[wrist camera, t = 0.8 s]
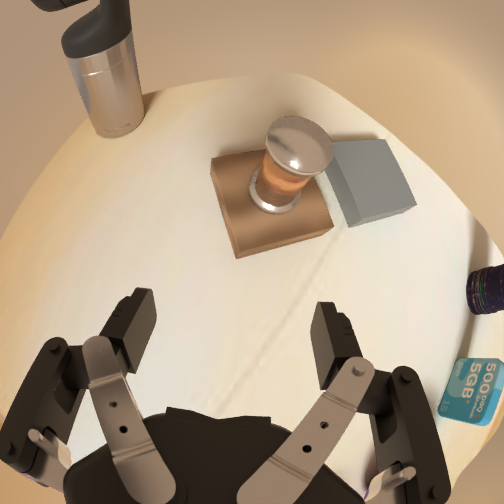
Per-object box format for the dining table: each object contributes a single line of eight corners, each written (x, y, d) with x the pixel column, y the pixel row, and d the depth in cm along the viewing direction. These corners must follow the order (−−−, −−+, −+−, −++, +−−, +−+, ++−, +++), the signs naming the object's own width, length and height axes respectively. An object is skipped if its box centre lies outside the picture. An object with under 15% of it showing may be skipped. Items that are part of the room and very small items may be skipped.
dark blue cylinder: (489, 292, 44) (537, 281, 30) (477, 324, 41) (530, 318, 27) (473, 261, 45) (524, 244, 30) (460, 293, 42) (518, 280, 28)
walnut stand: (210, 173, 38) (211, 158, 34) (291, 159, 41) (299, 144, 37) (236, 259, 36) (240, 251, 32) (322, 235, 39) (334, 226, 35)
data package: (456, 357, 38) (502, 357, 27) (465, 363, 39) (509, 363, 27) (435, 414, 35) (480, 425, 24) (445, 417, 35) (489, 427, 24)
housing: (241, 174, 34) (258, 118, 24) (287, 165, 36) (317, 114, 25) (257, 220, 33) (282, 176, 23) (305, 209, 35) (344, 166, 24)
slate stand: (318, 155, 42) (327, 142, 38) (374, 150, 45) (385, 139, 41) (349, 227, 40) (362, 219, 36) (403, 212, 43) (416, 204, 39)
